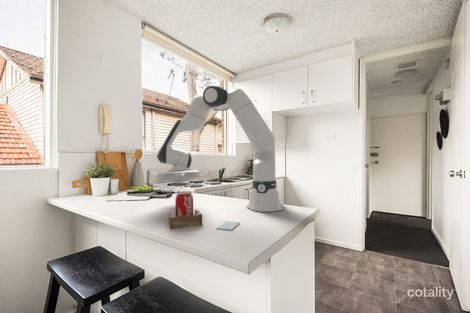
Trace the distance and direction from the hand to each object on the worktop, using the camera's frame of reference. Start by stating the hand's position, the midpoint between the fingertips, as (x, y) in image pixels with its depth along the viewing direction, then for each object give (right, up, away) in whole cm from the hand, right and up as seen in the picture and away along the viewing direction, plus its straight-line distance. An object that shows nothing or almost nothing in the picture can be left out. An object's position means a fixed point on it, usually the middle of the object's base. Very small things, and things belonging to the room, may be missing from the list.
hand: (180, 176), depth 105 cm
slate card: (+23, -18, -20) cm, 35 cm away
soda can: (+5, -17, -14) cm, 23 cm away
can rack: (+5, -17, -15) cm, 23 cm away
